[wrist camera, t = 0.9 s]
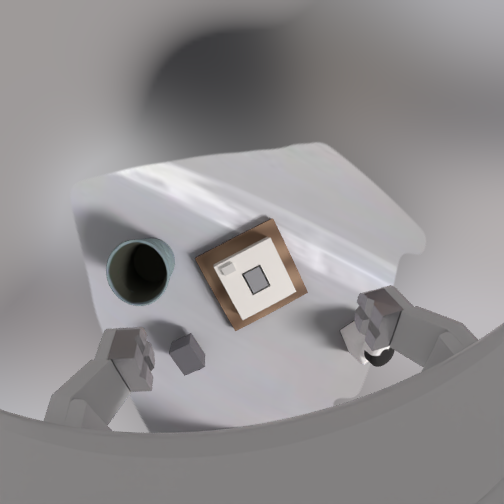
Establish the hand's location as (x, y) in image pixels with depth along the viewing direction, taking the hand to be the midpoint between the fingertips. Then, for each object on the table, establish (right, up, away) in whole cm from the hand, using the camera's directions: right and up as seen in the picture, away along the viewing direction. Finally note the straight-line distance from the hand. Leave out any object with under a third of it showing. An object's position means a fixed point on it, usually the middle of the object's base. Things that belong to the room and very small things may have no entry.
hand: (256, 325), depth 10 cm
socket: (0, -2, +41) cm, 41 cm away
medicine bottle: (+24, -16, +48) cm, 56 cm away
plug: (-13, -16, +42) cm, 47 cm away
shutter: (+1, -2, +38) cm, 38 cm away
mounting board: (0, -2, +43) cm, 43 cm away
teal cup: (-19, +1, +40) cm, 44 cm away
